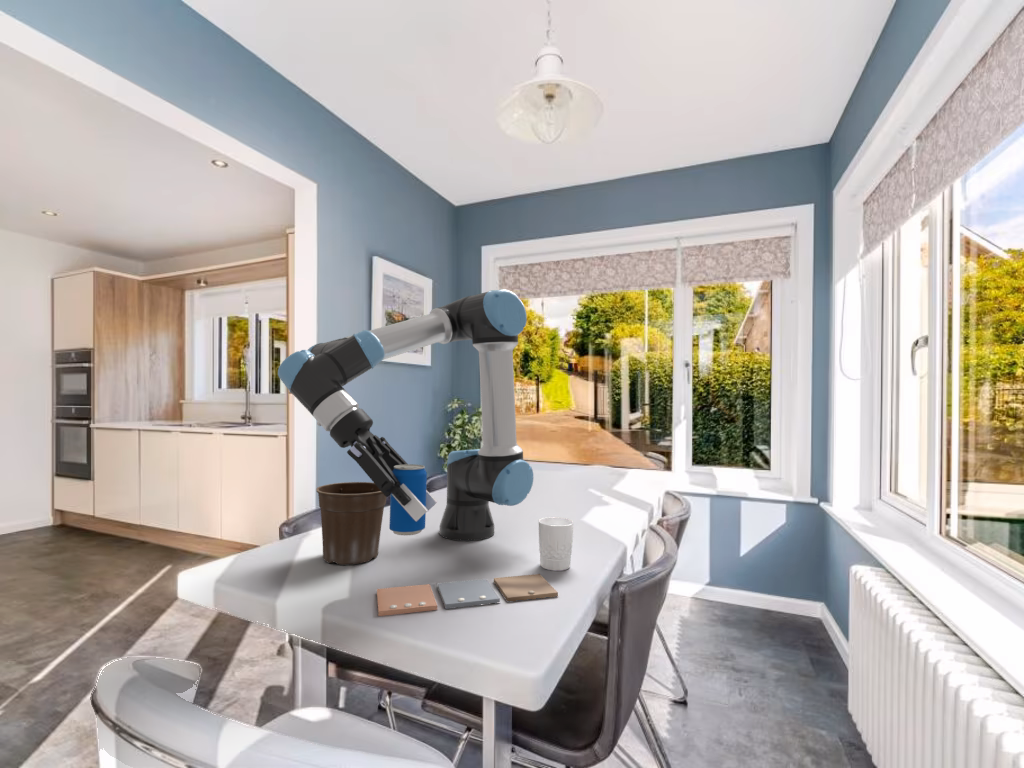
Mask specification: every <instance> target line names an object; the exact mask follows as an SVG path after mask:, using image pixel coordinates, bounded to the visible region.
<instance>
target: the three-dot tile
mask: <svg viewBox="0 0 1024 768" xmlns="http://www.w3.org/2000/svg"><path fill="white" fill-rule="evenodd" d="M435 598H436V597H435V595H434V592H433V590H432V585H431V584H429V583H427V584H416V585H406V586H396V587H395V586H394V587H386V588H377V589H376V602H377V613H378V614H377V616H378V617H383V616H392V615H393V616H394V615H402V614H411V613H420V612H428V611H429V612H430V611H437V610H438V603H437V601H436V599H435Z"/></svg>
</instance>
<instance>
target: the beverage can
mask: <svg viewBox="0 0 1024 768" xmlns="http://www.w3.org/2000/svg"><path fill="white" fill-rule="evenodd" d="M425 467H426V466H425V465H423V464H417V463H416V464H410V463H407V464H404V465H396V466H394V470H393V471H392V472H393V473H394V475H395V476H396V478H397V479H398V481H399V482H400V484H401V485H402V484H403V483H404V485H405V486H406V487H407V488H408V489H409V490H410V491H411V492H412V493H413V494H414V495H415V496H416V498H417V499H418V500H419V501H420V502H421V503H422V504H423V505H424V506H425V507H426V490H427V482H428V481H427V478H428V476H427V475H428V473H427V471H426V469H425ZM401 485H400V486H401ZM389 497H390V499H389V524H388V525H389V530H390V531H392V532H393V534H395V535H397V536H415V535H418V534H421V532H422V531H423V530H424V529H425V528H426V513H427V512H426V513H425V514H424V515H423V516H422V517H421V518H420V519H419V520H417V521H415V520H414V519H413V518H412V517H411V516H410V514H409V513H408V512H407V511H406V510H405V509H404V508H403V507H402V506H401V504H400V503H399V502H398V501H397V500H396V499H395V498H394V497H393V496H392V493H391V494H390V495H389Z"/></svg>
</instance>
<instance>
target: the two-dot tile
mask: <svg viewBox="0 0 1024 768" xmlns="http://www.w3.org/2000/svg"><path fill="white" fill-rule="evenodd" d="M436 584H437V587H436V588H437V591H438V590H439V591H438V593H439V596H440V598H441V601H442V603H444V604H443V606H444V608H445V609H446V610H449V609H456V607H458V608H465V607H464V606H468V607H473V606H472V605H477V606H482V605H481V604H486V605H490V604H489V603H495V604H498V603H497V602H500V603H501V598H500V597H499V595H498V593H497V592H496V591H495V589H494V588H493V586H492V585H491V583H490V581H489V580H488V579H487V578H481V579H479V578H478V579H472V580H471V579H469V580H460V581H449V582H437V583H436Z"/></svg>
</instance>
